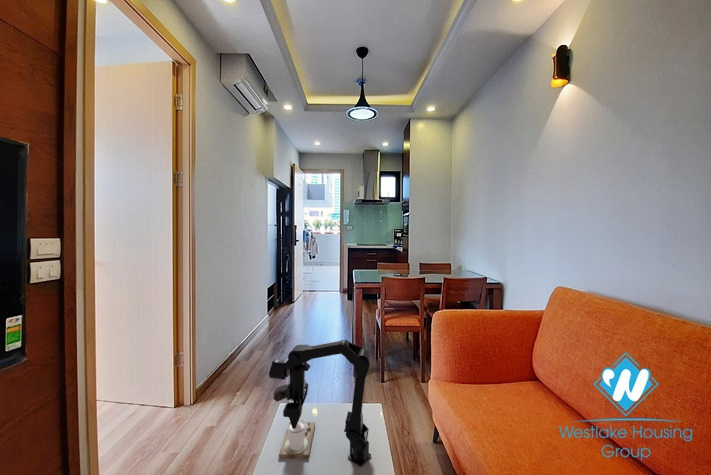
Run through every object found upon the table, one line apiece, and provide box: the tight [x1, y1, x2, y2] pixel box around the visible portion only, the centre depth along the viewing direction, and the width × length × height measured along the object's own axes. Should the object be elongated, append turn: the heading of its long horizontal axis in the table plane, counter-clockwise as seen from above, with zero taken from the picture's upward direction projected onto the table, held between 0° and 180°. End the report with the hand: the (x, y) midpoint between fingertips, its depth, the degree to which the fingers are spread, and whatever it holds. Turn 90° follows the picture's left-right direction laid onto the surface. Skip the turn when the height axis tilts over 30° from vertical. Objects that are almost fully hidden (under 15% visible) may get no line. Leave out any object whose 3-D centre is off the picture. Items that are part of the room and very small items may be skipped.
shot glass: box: [287, 420, 306, 450], centre depth 110 cm, size 7×7×7 cm
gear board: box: [278, 419, 316, 460], centre depth 114 cm, size 11×18×4 cm, turn 0°
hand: (296, 420), depth 110 cm, fingers open, 9 cm apart
